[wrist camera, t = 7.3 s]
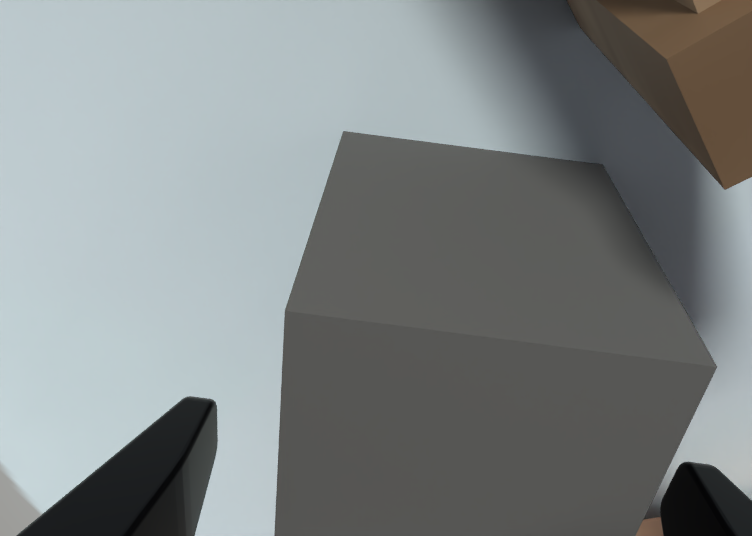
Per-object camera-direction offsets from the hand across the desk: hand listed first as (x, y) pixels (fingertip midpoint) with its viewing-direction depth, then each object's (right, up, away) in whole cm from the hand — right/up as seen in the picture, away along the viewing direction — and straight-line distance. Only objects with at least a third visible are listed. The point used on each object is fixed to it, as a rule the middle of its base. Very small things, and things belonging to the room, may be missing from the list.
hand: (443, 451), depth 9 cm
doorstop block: (0, +2, +4) cm, 4 cm away
